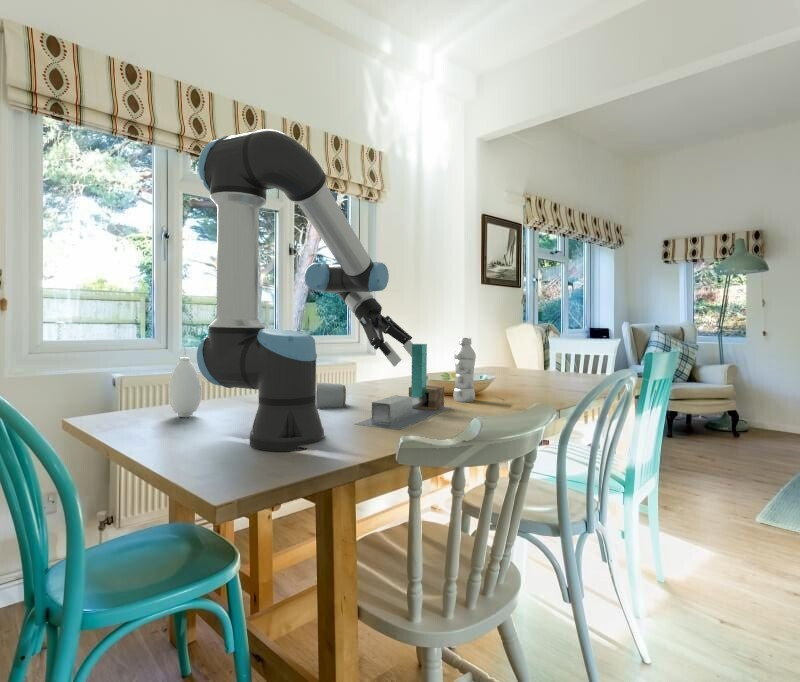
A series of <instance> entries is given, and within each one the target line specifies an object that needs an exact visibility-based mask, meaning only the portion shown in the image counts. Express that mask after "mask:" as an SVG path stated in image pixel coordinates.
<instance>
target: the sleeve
mask: <svg viewBox="0 0 800 682" xmlns="http://www.w3.org/2000/svg"><path fill="white" fill-rule="evenodd" d="M371 418H372V424H374V425H382V426H392V425H394V424H397V423H399V422H402V421H404V420H407V419H409V418H412V397H409V395H408V396H405V395H396V394H395V395H392V396H388V397H386V398H382V399H378V400H375V401H372V402H371Z"/></svg>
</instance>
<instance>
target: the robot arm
mask: <svg viewBox="0 0 800 682" xmlns="http://www.w3.org/2000/svg"><path fill="white" fill-rule="evenodd" d="M197 164H198V165H197V168H198V174H199V175H198V176H199V179H200V180H202V181H203V182H202V185H203V186H204V187H205V189H206V190H207V191H208V192H209V198H210V200H211V201H212V202H213V204H215V205H216V207H217V216H216V218H217V220H216V223H217V231H216V232H217V233H216V234H217V235H216V317H215V319H214V320H213V321H212V322H211V323H210V324H208V335H206V336H204V337H203V338H202V339H201V343H199V344H198V347H197V350H196V363H197V367H198V370H199V371H200V373H201V375H202V377H203V378H205V379H206V381H208V382H209V383H211V384H212V385H216V386H219V387H220V386H221V387H223V388H227V389H232V388H237V389H238V388H239V389H248V390H258V392H257V393H258V408H257V410H256V414H255V416H254V420H253V424H252V429H251V430H250V432H249V445H250V447H252V448H253V449H254V448H255V449H256V450H257V449H258V450H261V451H267V452H268V451H270V452H293V451H302V450H306V449H307V450H308V449H309V447H305V446H309V445H314V444H316V443H318V442H321V441H322V440H324V439H325V429H324V427H323V424H322V421H321V417H320V413H319V411H318V410H319V409H317V407H316V392H317V359H318V355H317V347H316V341H315V338H314V337H313V336H312V335H311V334H309V333H306V332H303V331H297V330H292V329H282V328H265V327H266V326H265V325H264V324H263V322H262V321H260V320H259V315H258V313H259V312H258V311H259V310H258V309H259V308H258V306H259V305H258V304H259V241H260V240H259V238H260V235H259V232H260V231H259V230H260V229H259V228H260V224H259V223H260V213H259V212H260V209H261V208H262V207H264V205H266V203H267V190H273V189H276V190H279V191H281V192H283V193H284V194H285V196H286V197H287V199H288V200H289V201H290V202H292V203H296V204H297V205H298V206H299V208H300V209H301V211H302V213H304V215H305V217H306V218H307V220H308V221H309V222H310V224H311V225H312V226H313V228H314V230H315V231H316V233H317V235H318V236H320V239H322V242H323V243H324V244H325V245H326V247H327V248H328V250H329V251H330V253H331V254H332V256H333V257H334V259H335V260H336V261H335V262H332V263H330V264H326V263H324V262H314V263H311V264H310V265H309V266H307V268H305V272H304V283H305V285H306V286H307V287H308V288H309V289H310V290H312V291H315V292H318V293H320V292H321V293H329V294H336V295H337V296H338V297H340V299H341V300H342V301H343V303H344V304H345V305H346V306H347V307H348V308H347V309H348V310H349V311H351V312H352V313H353V314H354V316H355V317H356V318H357V320H358V322H359V323H360V325H361V327H362V328H363V330H364V333H365V335H366V337H367V339H368V343H369V344H370V345H371V346H372V347H373V349H374V350H376V351H377V350H378V349H379V350H380V352H381V353H382V354H383V355H384V356H385V358H386V360H388V361H389V362H390V364H391V365H392V366H393V367H396V366H397V365H398V364H399V363H400V362H401V361H402V360H403V359H402V358H401V357H400V356H399V354H398V353H397V352H396V351H395V350H394V348H393V347H392V346H391V345H390V344H389V342H388V341H385V339H384V334H385V335H389V336H391V338H393V339H394V340H396V341H397V342H399V343H400V344H402V345H403V346H402V347H403V348H404V350H405V351H406V352H407V353H408V354H409V356H410V357H411V358H412V344H414V343H413V342H412V339H413V336H412V335H410V334H409V333H408V332H407V331H405V330H404V328H402V327H401V326H400V325H398V324H397V322H395V321H394V320H393V319H392V318H391V317H390V316H389V315H386V316H384V315H382V314H381V313H382V310H383V307H382V305H381V304H380V303H379V302H378V300H377V299H376V298H374V295H373V294H372V292H380V291H385V289H386V288H387V286H388V283H389V278H390V274H389V270H388V267H387V265H386V263H383V262H381V261H379V262H378V261H375V262H373V260H372V258H371V257H370V256H369V254H368V252H367V250H366V248H365V247H364V246H363V244H362V242H361V241H360V239H359V237H358V235H357V233H355V231H354V229H353V227H352V226H351V224H350V222H349V221H348V219H347V217H346V216H345V214H344V212H343V211H342V209H341V207H340V206H339V204H338V201H336V199H335V197H334V195H333V194H332V192H331V190H330V188H329V187H328V185H327V184H326V183H327V175H326V173H325V171H324V170H323V168H322V166H321V165H320V163H319V162H318V161H317V159H316V158H315V157H314V156H313V155H312V154H311V153H310V152H309V151H308V150H307V148H305V146H303V145H302V144H300V143H299V142H298V141H297V140H296V139H294V138H293V137H291V136H290V135H288V134H286V133H284V132H281V131H279V130H274V129H268V128H267V129H259V130H256V131H252V132H246V133H240V134H235V135H225V136H222V137H220V138H219V137H218V139H214V140H211V141H209V142H208V143H207V144H205V146H204V147H203V148H202V149H201V152H200V155H199V158H198V163H197ZM302 446H303V447H302Z"/></svg>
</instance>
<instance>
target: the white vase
mask: <svg viewBox="0 0 800 682" xmlns="http://www.w3.org/2000/svg"><path fill="white" fill-rule="evenodd" d="M178 359H179V360H178V362H177V363H176V365H175V366H174V368H173V370H172V373H171V376H170V378H169V383H168V389H167V390H168V401H169V405H170V407H171V409H172V411H173V412H174V414H177V416H178V417H181V418H183V417H185V418H190V416H193V414H194V413H195V412H197V410H198V409H199V406H200V404H201V400H202V384H201V379H200V375H199V374H198V371H197V369H196V366H195V365H194V364H193V362H192V361H191V358H190V357H189V356H188V357H187V356H186V347H185V346H184V347H183V357H181V356H180V357H179V358H178Z"/></svg>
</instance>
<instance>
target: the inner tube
mask: <svg viewBox="0 0 800 682" xmlns="http://www.w3.org/2000/svg"><path fill="white" fill-rule="evenodd" d="M427 353H428V344H427V343H413V344H412V357H411V387H412V391H411V396H413V397H412V409H413V408H416V407H418V406H421V405H424V404H427V403H429V393H427V392H426V385H427V364H428V363H427V359H428V357H427V355H428V354H427Z"/></svg>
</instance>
